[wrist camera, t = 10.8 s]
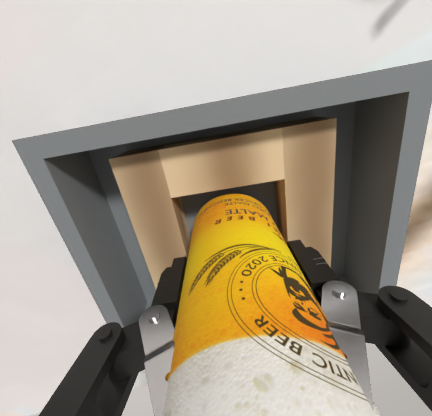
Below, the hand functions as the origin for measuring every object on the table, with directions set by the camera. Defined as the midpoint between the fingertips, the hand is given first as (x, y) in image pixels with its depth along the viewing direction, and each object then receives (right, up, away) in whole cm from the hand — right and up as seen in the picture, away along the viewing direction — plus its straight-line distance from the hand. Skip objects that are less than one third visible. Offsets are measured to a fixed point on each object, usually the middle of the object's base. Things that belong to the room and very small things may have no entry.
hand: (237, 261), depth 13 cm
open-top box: (0, +3, +6) cm, 7 cm away
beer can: (0, +2, +4) cm, 5 cm away
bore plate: (0, +2, +5) cm, 6 cm away
